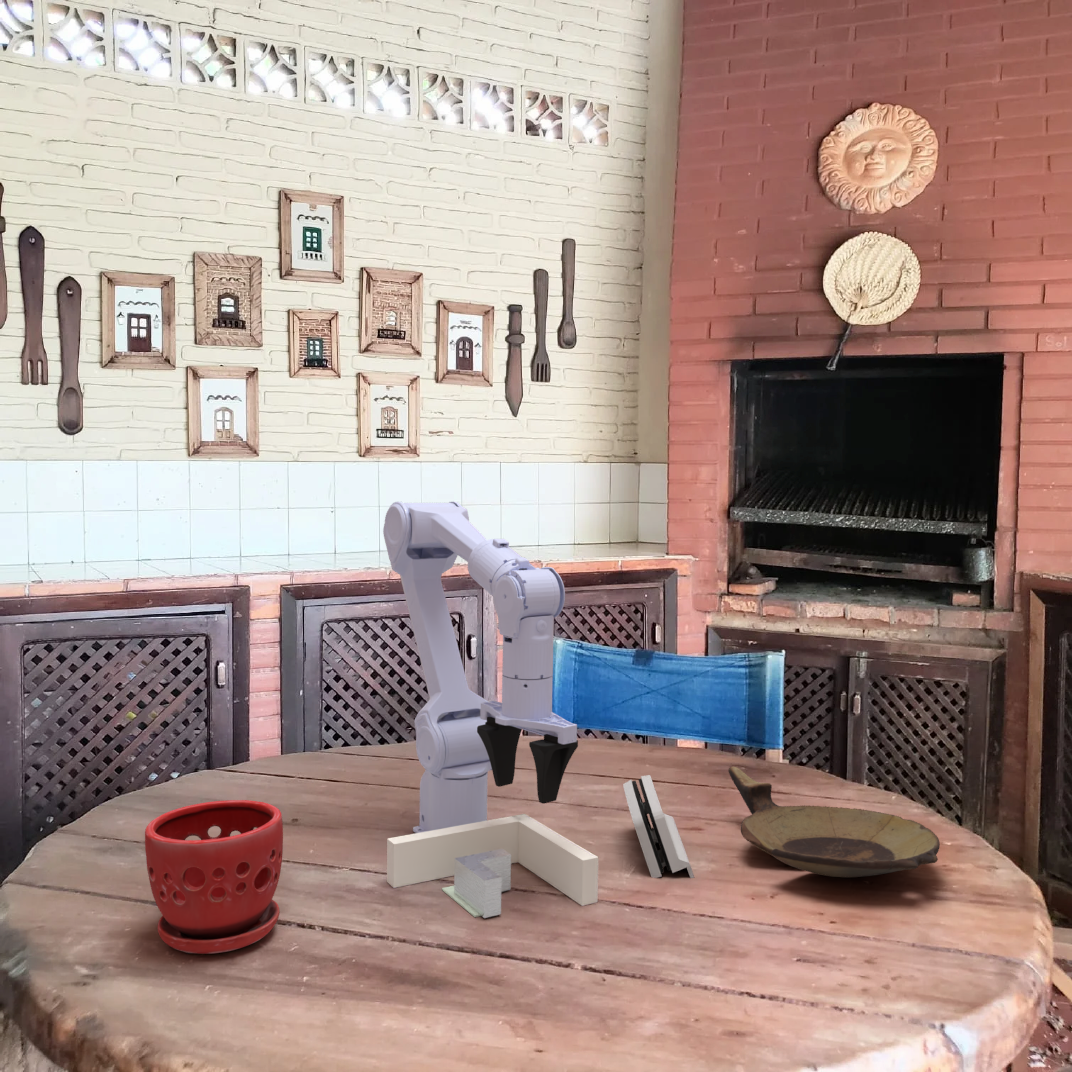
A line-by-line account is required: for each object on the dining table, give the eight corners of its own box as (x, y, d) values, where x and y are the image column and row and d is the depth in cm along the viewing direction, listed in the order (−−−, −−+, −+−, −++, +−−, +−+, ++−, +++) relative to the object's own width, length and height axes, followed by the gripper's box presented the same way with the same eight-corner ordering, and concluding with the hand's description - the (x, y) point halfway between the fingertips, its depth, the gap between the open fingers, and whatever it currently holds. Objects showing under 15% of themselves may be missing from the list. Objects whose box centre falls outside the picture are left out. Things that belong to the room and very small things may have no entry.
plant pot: (275, 899, 110) (275, 791, 110) (290, 954, 98) (290, 832, 97) (146, 916, 106) (145, 802, 105) (144, 975, 93) (144, 847, 93)
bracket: (533, 906, 109) (534, 869, 109) (484, 918, 106) (484, 880, 106) (501, 883, 115) (502, 848, 115) (454, 893, 112) (454, 858, 112)
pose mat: (441, 889, 114) (441, 888, 114) (496, 878, 117) (496, 876, 117) (474, 917, 107) (474, 915, 107) (532, 903, 110) (532, 902, 110)
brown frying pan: (796, 918, 108) (798, 847, 108) (697, 822, 138) (699, 766, 137) (984, 904, 113) (987, 836, 112) (849, 814, 142) (851, 760, 141)
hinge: (695, 879, 118) (668, 798, 117) (656, 891, 118) (629, 811, 118) (676, 828, 135) (653, 758, 134) (642, 839, 135) (619, 769, 134)
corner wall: (386, 881, 116) (387, 838, 115) (524, 853, 125) (524, 813, 124) (448, 938, 102) (449, 889, 101) (597, 902, 111) (598, 857, 111)
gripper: (460, 668, 118) (458, 784, 119) (543, 690, 107) (541, 816, 108) (507, 662, 123) (505, 773, 124) (591, 682, 112) (589, 803, 113)
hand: (525, 792), depth 116 cm, fingers open, 7 cm apart
